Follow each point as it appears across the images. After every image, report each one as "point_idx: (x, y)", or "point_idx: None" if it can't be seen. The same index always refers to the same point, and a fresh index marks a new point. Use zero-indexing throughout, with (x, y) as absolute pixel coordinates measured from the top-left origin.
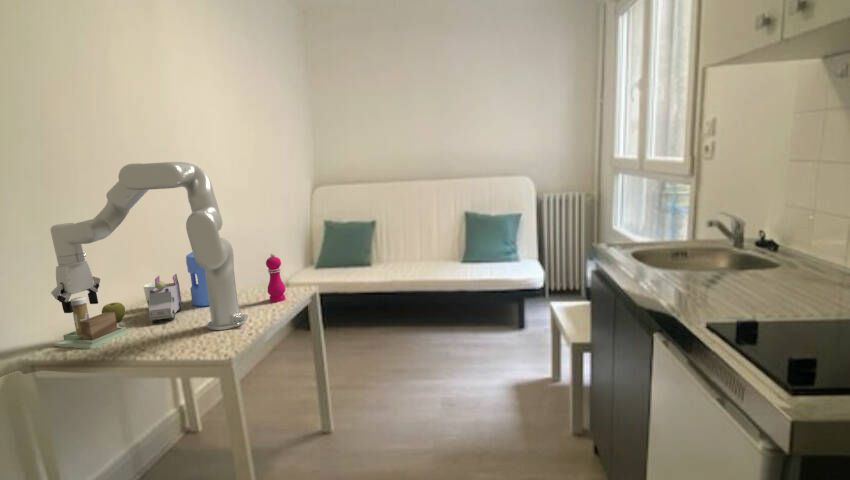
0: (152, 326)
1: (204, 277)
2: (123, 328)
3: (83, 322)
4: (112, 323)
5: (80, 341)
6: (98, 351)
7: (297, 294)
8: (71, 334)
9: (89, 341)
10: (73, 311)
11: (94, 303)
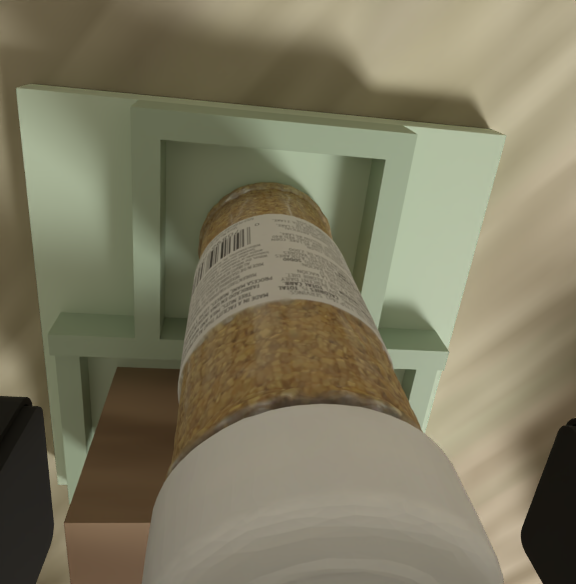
0: (520, 523)
1: None
2: None
3: (71, 556)
4: None
5: (60, 404)
6: None
7: None
8: (215, 140)
9: (67, 485)
10: (179, 407)
11: (534, 510)
